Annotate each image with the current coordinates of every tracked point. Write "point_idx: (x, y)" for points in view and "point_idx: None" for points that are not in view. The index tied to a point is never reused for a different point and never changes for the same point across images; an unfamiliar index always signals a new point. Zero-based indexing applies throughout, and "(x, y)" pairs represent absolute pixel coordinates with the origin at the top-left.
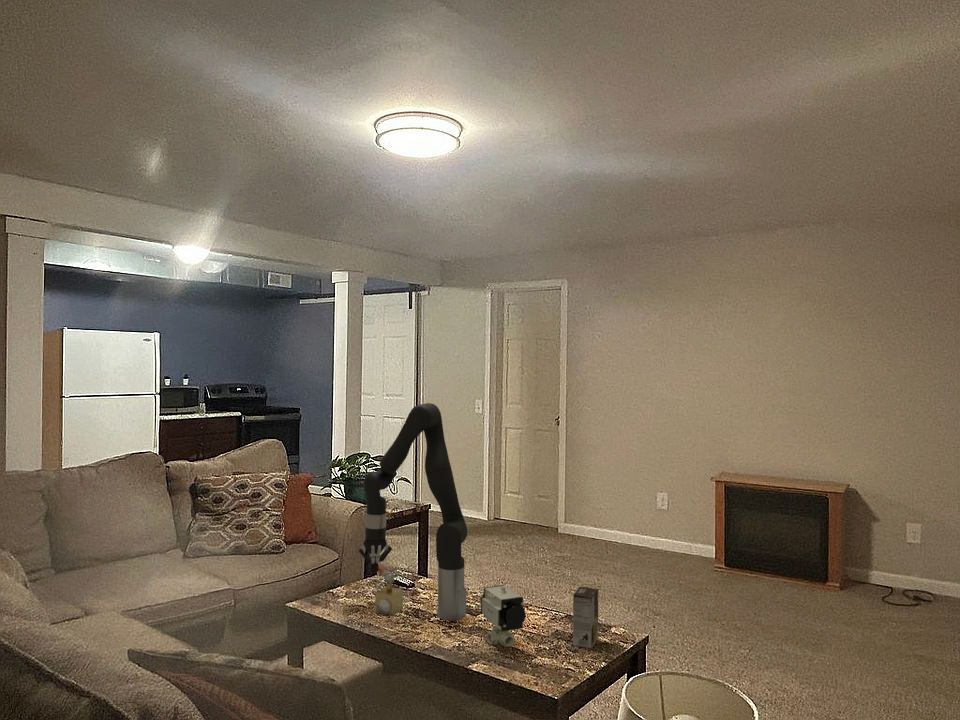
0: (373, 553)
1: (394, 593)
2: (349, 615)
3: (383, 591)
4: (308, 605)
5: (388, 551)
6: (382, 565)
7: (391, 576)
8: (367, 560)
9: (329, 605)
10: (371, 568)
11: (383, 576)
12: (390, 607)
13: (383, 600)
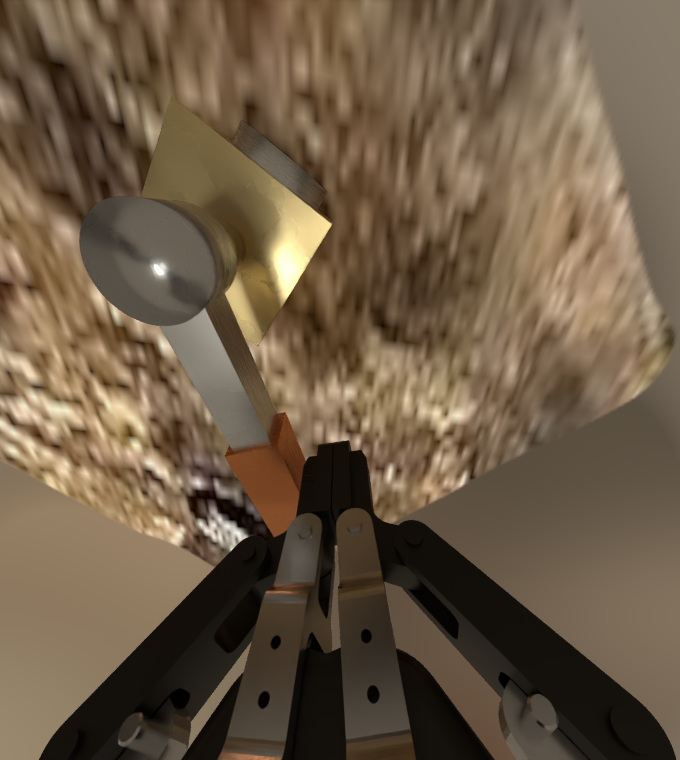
0: (359, 649)
1: (166, 160)
2: (476, 190)
3: (269, 241)
4: (605, 367)
5: (127, 685)
6: (271, 526)
7: (111, 199)
8: (423, 538)
9: (524, 355)
10: (362, 472)
11: (259, 375)
12: (231, 141)
13: (272, 149)
